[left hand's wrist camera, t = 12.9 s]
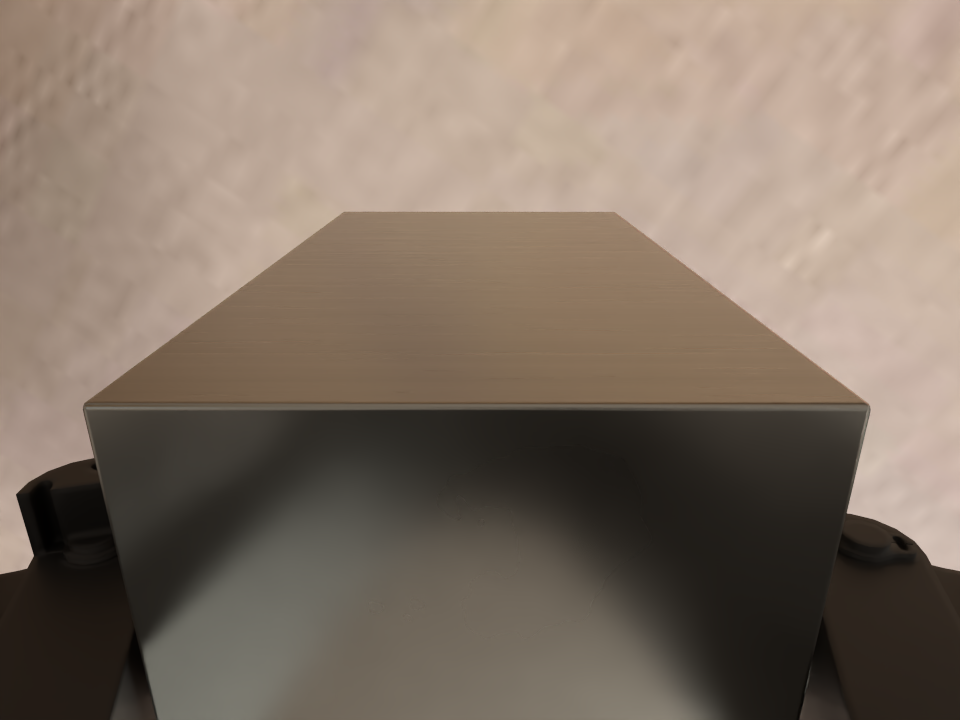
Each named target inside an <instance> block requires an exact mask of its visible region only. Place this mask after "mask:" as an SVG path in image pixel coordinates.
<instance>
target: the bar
mask: <svg viewBox="0 0 960 720" xmlns="http://www.w3.org/2000/svg"><path fill="white" fill-rule="evenodd" d="M83 412H84V416H85V420H86V425H87V429H88V433H89V437H90V441H91V446H92V450H93V454H94V458H95V463H96V467H97V471H98V475H99V479H100V484H101V488H102V492H103V496H104V501H105V505H106V509H107V513H108V518H109V522H110V526H111V530H112V534H113V539H114V543H115V547H116V551H117V556H118V560H119V564H120V568H121V573H122V577H123V581H124V585H125V589H126V594H127V598H128V602H129V606H130V611H131V615H132V619H133V623H134V627H135V632H136V636H137V640H138V644H139V649H140V653H141V657H142V661H143V666H144V670H145V674H146V678H147V682H148V687H149V691H150V695H151V699H152V704H153V708H154V712H155V716H156V720H798V718H799V714H800V710H801V705H802V701H803V697H804V693H805V688H806V684H807V680H808V675H809V671H810V667H811V663H812V658H813V654H814V650H815V646H816V641H817V637H818V633H819V628H820V624H821V620H822V616H823V611H824V607H825V603H826V598H827V594H828V590H829V586H830V581H831V577H832V573H833V569H834V564H835V560H836V556H837V551H838V547H839V543H840V539H841V534H842V530H843V526H844V521H845V517H846V513H847V509H848V504H849V500H850V496H851V492H852V487H853V483H854V479H855V474H856V470H857V466H858V462H859V457H860V453H861V449H862V444H863V440H864V436H865V432H866V427H867V423H868V419H869V415H870V406H869V404H868V403H867V402H866V401H864V400H863V399H862V398H860V397H859V396H858V395H856V394H855V393H854V392H852V391H851V390H850V389H848V388H847V387H846V386H844V385H843V384H842V383H840V382H839V381H838V380H836V379H835V378H834V377H832V376H831V375H830V374H828V373H827V372H826V371H824V370H823V369H822V368H821V367H819V366H818V365H817V364H815V363H814V362H813V361H811V360H810V359H809V358H807V357H806V356H805V355H803V354H802V353H801V352H799V351H798V350H797V349H795V348H794V347H793V346H791V345H790V344H789V343H787V342H786V341H785V340H783V339H782V338H781V337H779V336H778V335H777V334H776V333H774V332H773V331H772V330H770V329H769V328H768V327H766V326H765V325H764V324H762V323H761V322H760V321H758V320H757V319H756V318H754V317H753V316H752V315H750V314H749V313H748V312H746V311H745V310H744V309H742V308H741V307H740V306H738V305H737V304H736V303H734V302H733V301H732V300H731V299H729V298H728V297H727V296H725V295H724V294H723V293H721V292H720V291H719V290H717V289H716V288H715V287H713V286H712V285H711V284H709V283H708V282H707V281H705V280H704V279H703V278H701V277H700V276H699V275H697V274H696V273H695V272H693V271H692V270H691V269H689V268H688V267H687V266H686V265H684V264H683V263H682V262H680V261H679V260H678V259H676V258H675V257H674V256H672V255H671V254H670V253H668V252H667V251H666V250H664V249H663V248H662V247H660V246H659V245H658V244H656V243H655V242H654V241H652V240H651V239H650V238H648V237H647V236H646V235H644V234H643V233H642V232H641V231H639V230H638V229H637V228H635V227H634V226H633V225H631V224H630V223H629V222H627V221H626V220H625V219H623V218H622V217H621V216H619V215H618V214H617V213H615V212H343V213H342V214H341V215H339V216H338V217H336V218H335V219H334V220H332V221H331V222H330V223H328V224H327V225H326V226H324V227H323V228H322V229H320V230H319V231H317V232H316V233H315V234H313V235H312V236H311V237H309V238H308V239H307V240H305V241H304V242H303V243H301V244H300V245H299V246H297V247H296V248H294V249H293V250H292V251H290V252H289V253H288V254H286V255H285V256H284V257H282V258H281V259H280V260H278V261H277V262H275V263H274V264H273V265H271V266H270V267H269V268H267V269H266V270H265V271H263V272H262V273H261V274H259V275H258V276H256V277H255V278H254V279H252V280H251V281H250V282H248V283H247V284H246V285H244V286H243V287H242V288H240V289H239V290H237V291H236V292H235V293H233V294H232V295H231V296H229V297H228V298H227V299H225V300H224V301H223V302H221V303H220V304H218V305H217V306H216V307H214V308H213V309H212V310H210V311H209V312H208V313H206V314H205V315H204V316H202V317H201V318H200V319H198V320H197V321H195V322H194V323H193V324H191V325H190V326H189V327H187V328H186V329H185V330H183V331H182V332H181V333H179V334H178V335H176V336H175V337H174V338H172V339H171V340H170V341H168V342H167V343H166V344H164V345H163V346H162V347H160V348H159V349H157V350H156V351H155V352H153V353H152V354H151V355H149V356H148V357H147V358H145V359H144V360H143V361H141V362H140V363H138V364H137V365H136V366H134V367H133V368H132V369H130V370H129V371H128V372H126V373H125V374H124V375H122V376H121V377H120V378H118V379H117V380H115V381H114V382H113V383H111V384H110V385H109V386H107V387H106V388H105V389H103V390H102V391H101V392H99V393H98V394H96V395H95V396H94V397H92V398H91V399H90V400H88V401H87V402H86V403H85V404H84V406H83Z"/></svg>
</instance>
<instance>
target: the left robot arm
mask: <svg viewBox="0 0 960 720" xmlns="http://www.w3.org/2000/svg"><path fill="white" fill-rule="evenodd" d="M16 496H17V500H18V503H19V506H20V510H21V513H22V517H23V520H24V523H25V527H26V530H27V533H28V537H29V540H30V544H31V547H32V550H33V554H34V557H33V559H32V561H31V563H30V565H29V566H28V568H27V569H24V570H20V571H15V572H10V573H5V574H0V720H156V716H155V712H154V708H153V704H152V699H151V695H150V691H149V687H148V682H147V678H146V674H145V670H144V666H143V661H142V657H141V653H140V649H139V644H138V640H137V636H136V632H135V627H134V623H133V619H132V615H131V611H130V606H129V602H128V598H127V594H126V589H125V585H124V581H123V577H122V573H121V568H120V564H119V560H118V556H117V551H116V547H115V543H114V539H113V534H112V530H111V526H110V522H109V518H108V513H107V509H106V505H105V501H104V496H103V492H102V488H101V484H100V479H99V475H98V471H97V467H96V463H95V458H93V459H88V460H83V461H78V462H73V463H70V464H67V465H64V466H62V467H59V468H56V469H53V470H50V471H48V472H46V473H44V474H43V475H41V476H39V477H37V478H35V479H34V480H32V481H30V482H28V483H27V484H26V485H25V486H24V487H23V488H22V489H21V490H20V491H19V492H18V493H17V494H16ZM798 720H960V571H956V570H950V569H945V568H941V567H937V566H933V565H931V563H930V561H929V560H928V558H927V556H926V554H925V553H924V552H923V551H922V550H921V548H920V547H919V546H918V545H917V544H916V543H915V541H913V540H912V539H910V538H909V537H907V536H906V535H904V534H903V533H901V532H900V531H898V530H897V529H895V528H892V527H890V526H888V525H885V524H883V523H881V522H878V521H876V520H873V519H869V518H865V517H861V516H857V515H852V514H847V513H846V517H845V521H844V526H843V530H842V534H841V539H840V543H839V547H838V551H837V556H836V560H835V564H834V569H833V573H832V577H831V581H830V586H829V590H828V594H827V598H826V603H825V607H824V611H823V616H822V620H821V624H820V628H819V633H818V637H817V641H816V646H815V650H814V654H813V658H812V663H811V667H810V671H809V675H808V680H807V684H806V688H805V693H804V697H803V701H802V705H801V710H800V714H799V718H798Z"/></svg>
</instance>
